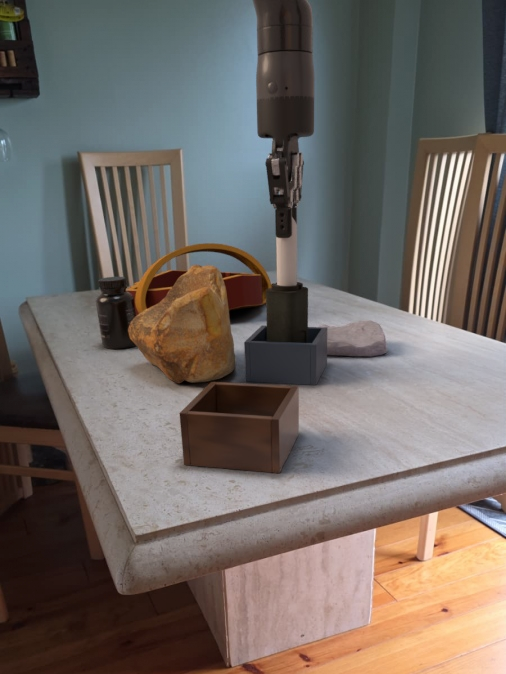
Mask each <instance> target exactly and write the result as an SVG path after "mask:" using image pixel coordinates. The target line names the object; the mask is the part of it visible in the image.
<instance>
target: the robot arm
mask: <svg viewBox="0 0 506 674" xmlns="http://www.w3.org/2000/svg"><path fill="white" fill-rule="evenodd" d="M252 3H253V8H254V10H255V16H256V45H257V46H256V47H257V61H256V62H257V64H256V72H255V73H256V74H255V86H256V88H255V89H256V90H255V91H256V128H257V129H256V130H257V137H259V138H261V139H272V143H271V144H272V145H271V152H270V153H268V157H267V158H266V159H265V163H264V164H265V168H266V178H267V186H268V194H269V195H268V196H269V202H270V205H272V206H273V209H274V213H275V215H274V217H275V218H274V219H275V221H274V223H275V224H274V226H275V228H274V229H275V237H278V238H289V237H291V236H292V217H293V219H294V220H295V222H296V224H297V225H298V207H299V204H300V202H301V201H302V197H303V195H302V189H303V188H302V187H303V175H304V166H305V161H304V156H303V152H300V147H299V139H300V138H307V137H308V138H309V137H312V136H313V135H314V134H315V68H314V67H315V66H314V55H313V54H314V52H313V51H314V30H313V29H314V21H313V20H314V18H313V17H314V15H313V10H312V9H313V8H312V6H311V3H310V2H309V1H308V0H252ZM289 208H290V209H289Z"/></svg>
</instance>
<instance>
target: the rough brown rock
mask: <svg viewBox="0 0 506 674" xmlns="http://www.w3.org/2000/svg"><path fill="white" fill-rule="evenodd" d="M186 271H187V272H186V273H185V274H183V275H182V276H180V277H179V278H178V280H177V281H176V282H175V284H174V286H173V287H171V288H170V290H169V292H168V293H167V295H166V297H165V298H164V299H163V300H162V301H161V302H160V303H158V304H156V305H154V306H152V307H150V308H148V309H145V310H144V311H142V312H141V313H140V314H138V315H137V316H136V317H135V318H134V319H133V320H132V321H131V323H130V325H129V328H128V332H129V336H130V339H131V340H132V341H133V342H134V343H135V346H136V347H137V349H138V350H139V351H140V352H141V353H142V355H143V356H144V358H145V359H146V361H148V362H149V363H150V364H151V365H153V366H156V367H157V368H159V370H161V372H162V373H163V374H164V375H165V376H166V377H167V378H168V379H169V380H170V381H173V382H174V383H176V384H182V383H183V382H184V381H185V382H188V383H208V382H213V381H216V380H219V379H222V378H224V377H226V376H228V375H229V374H231V373H233V371H234V370H235V369H236V366H237V359H236V358H237V357H236V353H235V343H234V337H233V334H232V326H231V319H230V311H229V308H228V301H227V293H226V287H225V284H224V281H223V278H222V275H221V272H222V271H220V269H219V268H218V267H216V266H215V265H210V264H209V265H208V264H206V265H203V266H202V265H200V264H193V265H191V266H190V267H189V268H188V270H186Z"/></svg>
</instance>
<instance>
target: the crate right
mask: <svg viewBox="0 0 506 674" xmlns="http://www.w3.org/2000/svg"><path fill="white" fill-rule="evenodd" d="M327 329H328V328H327V327H323V328H322V327H318V326H308V343H292V342H267V325H261V326H259V328H257V329H256V330H255V332H253V333H252V334H251V335H250V336H249V337H248V338H247V339H246V340H245V341H244V342H243V345H244V347H243V348H244V373H245V374H244V375H245V382H246V383H247V382H250V383H266V384H287V385H288V384H289V385H306V386H307V385H309V386H311V385H312V386H317V384H318V383H319V381H320V378H321V376H322V374H323V372H324V371H325V369H326V367H327V364H328V355H327Z"/></svg>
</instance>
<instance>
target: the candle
mask: <svg viewBox="0 0 506 674" xmlns="http://www.w3.org/2000/svg"><path fill="white" fill-rule="evenodd" d="M289 209H290V208H289ZM275 237H276V236H275ZM275 239H276V240H275V241H276V244H275V245H276V282H275V283H271V288H270V289H267V290H266V303H265V304H266V306H265V310H266V312H265V313H266V326H267V342H292V343H308V327H309V287H306V286H304V284H303V282H300V281H298V223H297V224H296V222H295V220H294V219H293V217H292V236H291V237H289V238H278V237H276V238H275Z"/></svg>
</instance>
